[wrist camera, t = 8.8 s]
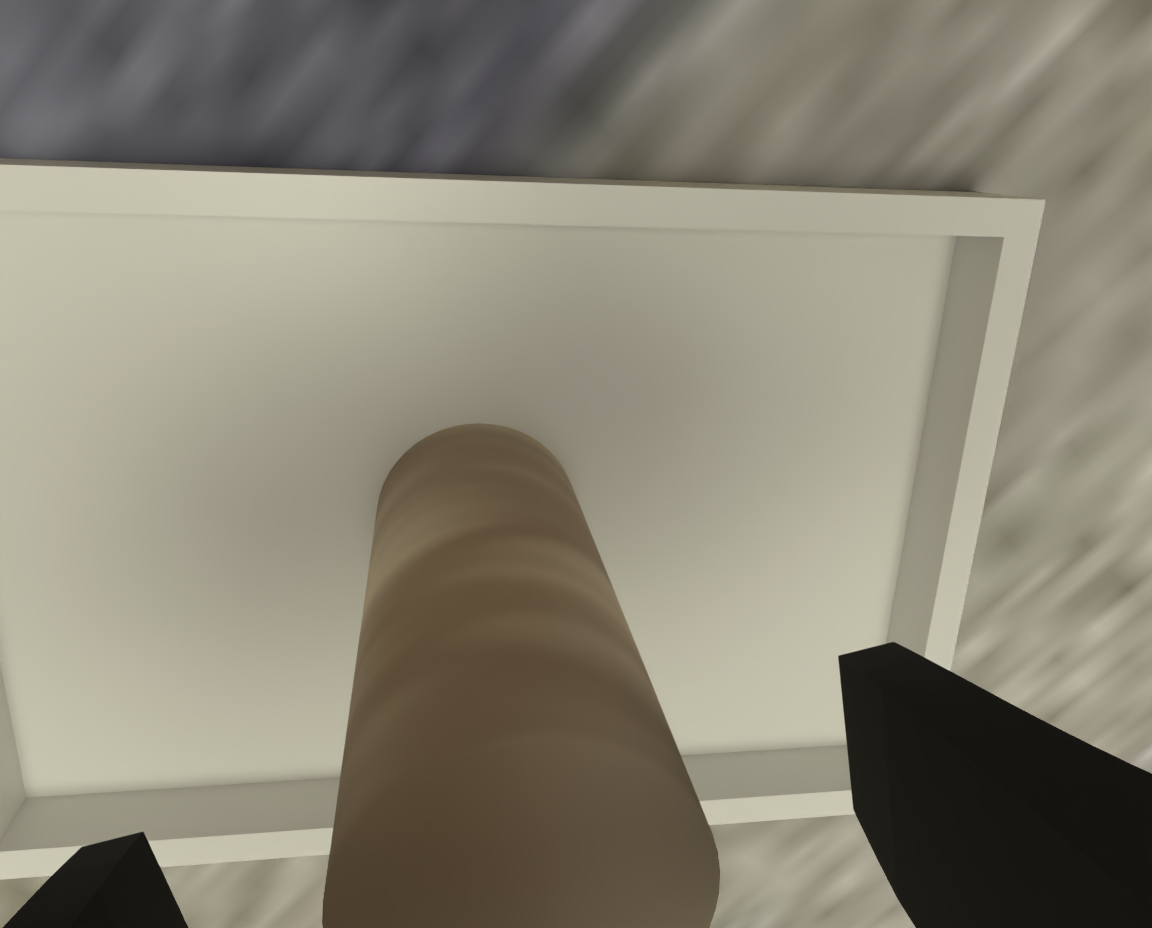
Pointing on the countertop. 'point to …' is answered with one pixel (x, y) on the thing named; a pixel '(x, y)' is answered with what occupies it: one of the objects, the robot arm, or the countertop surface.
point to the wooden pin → (505, 717)
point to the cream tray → (451, 398)
